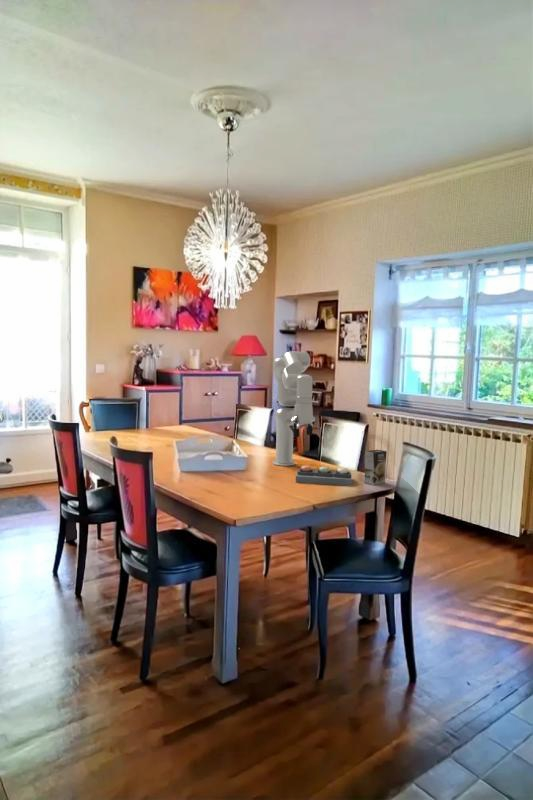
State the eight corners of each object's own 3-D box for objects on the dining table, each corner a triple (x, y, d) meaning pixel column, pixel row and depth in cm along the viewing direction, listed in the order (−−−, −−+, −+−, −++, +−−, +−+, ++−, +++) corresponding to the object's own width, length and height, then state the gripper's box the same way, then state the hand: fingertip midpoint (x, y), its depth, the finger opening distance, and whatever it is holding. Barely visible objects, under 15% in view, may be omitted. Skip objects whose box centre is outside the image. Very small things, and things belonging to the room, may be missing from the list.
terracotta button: (301, 469, 269) (301, 465, 269) (311, 469, 268) (311, 465, 268) (300, 471, 264) (300, 467, 264) (310, 472, 263) (311, 468, 263)
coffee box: (373, 485, 258) (375, 452, 257) (363, 482, 263) (365, 450, 262) (385, 482, 264) (387, 450, 263) (375, 480, 269) (376, 448, 267)
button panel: (298, 475, 274) (298, 467, 274) (351, 478, 270) (351, 470, 270) (295, 482, 260) (295, 473, 260) (351, 485, 256) (351, 476, 256)
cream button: (337, 471, 266) (337, 467, 266) (347, 471, 266) (347, 468, 266) (337, 473, 262) (337, 469, 261) (347, 474, 261) (347, 470, 261)
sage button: (319, 470, 268) (319, 466, 268) (329, 470, 267) (329, 466, 267) (318, 472, 263) (319, 468, 263) (329, 473, 262) (329, 469, 262)
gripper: (309, 399, 266) (308, 433, 268) (286, 401, 254) (285, 436, 255) (321, 400, 261) (320, 435, 262) (298, 402, 249) (297, 438, 250)
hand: (302, 435), depth 259 cm, fingers open, 9 cm apart
